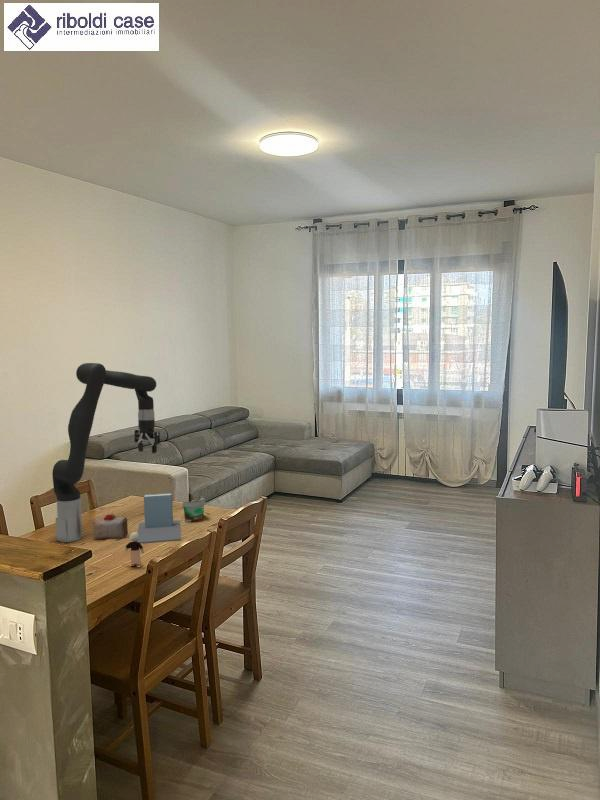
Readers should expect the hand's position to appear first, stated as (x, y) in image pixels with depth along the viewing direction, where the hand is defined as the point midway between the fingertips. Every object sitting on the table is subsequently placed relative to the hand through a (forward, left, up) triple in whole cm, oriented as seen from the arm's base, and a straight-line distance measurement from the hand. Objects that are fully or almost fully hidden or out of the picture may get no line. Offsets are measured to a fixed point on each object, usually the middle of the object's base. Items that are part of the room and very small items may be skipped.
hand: (147, 452), depth 281 cm
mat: (-20, -26, -29) cm, 44 cm away
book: (-15, -21, -28) cm, 38 cm away
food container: (0, -30, -29) cm, 42 cm away
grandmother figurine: (-52, -46, -29) cm, 75 cm away
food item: (-35, -13, -30) cm, 47 cm away
